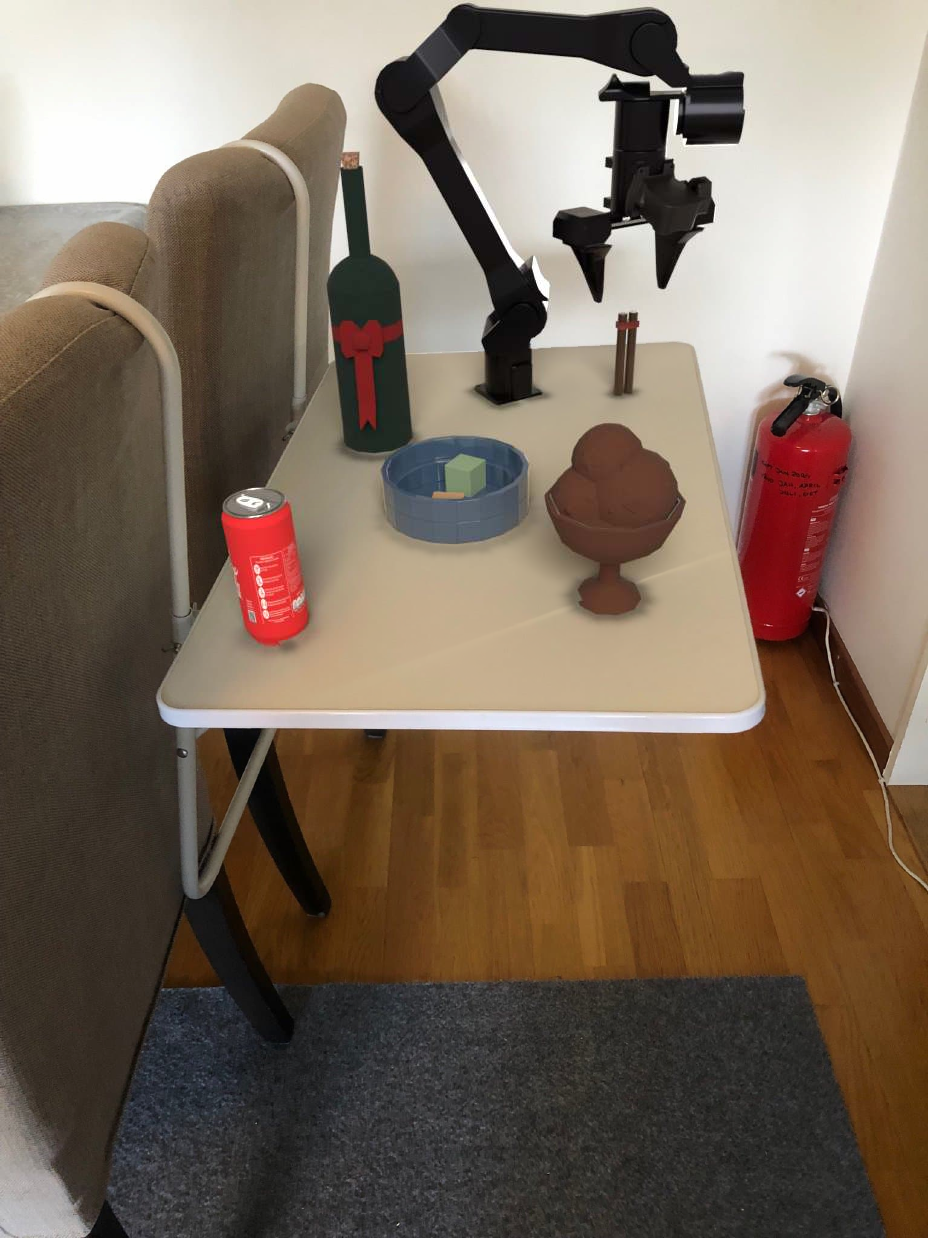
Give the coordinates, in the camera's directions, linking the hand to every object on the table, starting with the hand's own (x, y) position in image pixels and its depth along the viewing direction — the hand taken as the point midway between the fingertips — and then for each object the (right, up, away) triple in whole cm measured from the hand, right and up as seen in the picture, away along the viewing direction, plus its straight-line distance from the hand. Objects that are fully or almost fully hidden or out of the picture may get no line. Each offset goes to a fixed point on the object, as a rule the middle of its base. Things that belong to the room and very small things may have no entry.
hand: (630, 295), depth 108 cm
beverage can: (-35, -39, -32) cm, 61 cm away
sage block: (-19, -25, -14) cm, 34 cm away
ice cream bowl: (-7, -36, -29) cm, 47 cm away
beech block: (-21, -29, -20) cm, 41 cm away
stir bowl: (-20, -27, -16) cm, 38 cm away
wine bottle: (-29, -19, -3) cm, 35 cm away
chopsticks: (0, -10, +7) cm, 12 cm away
